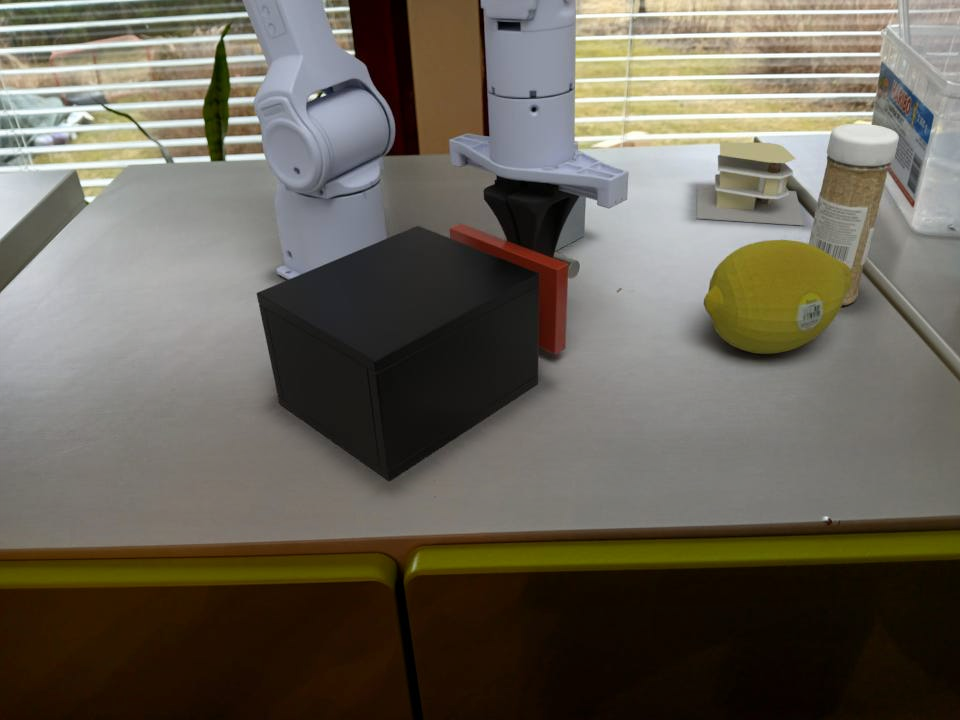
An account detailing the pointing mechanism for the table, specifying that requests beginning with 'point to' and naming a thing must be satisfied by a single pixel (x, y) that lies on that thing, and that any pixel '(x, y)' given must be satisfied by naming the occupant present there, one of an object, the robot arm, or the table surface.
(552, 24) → the robot arm
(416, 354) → the black drawer cabinet
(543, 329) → the red-fronted pull-out drawer
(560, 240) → the steel block
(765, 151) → the stacked layers on plate
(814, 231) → the seasoning bottle
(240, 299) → the table surface
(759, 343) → the lemon
